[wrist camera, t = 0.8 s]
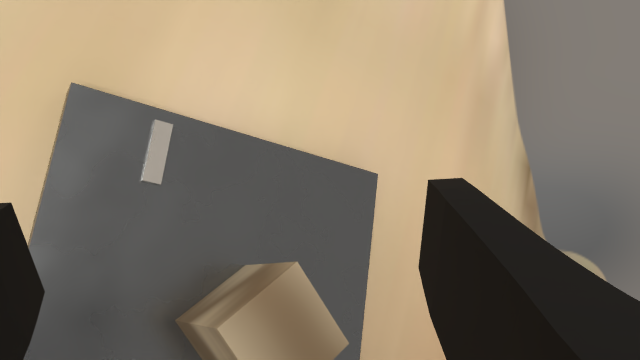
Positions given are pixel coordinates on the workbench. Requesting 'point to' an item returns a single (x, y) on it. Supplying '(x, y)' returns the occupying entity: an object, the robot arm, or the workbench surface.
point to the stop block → (263, 318)
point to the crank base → (182, 228)
